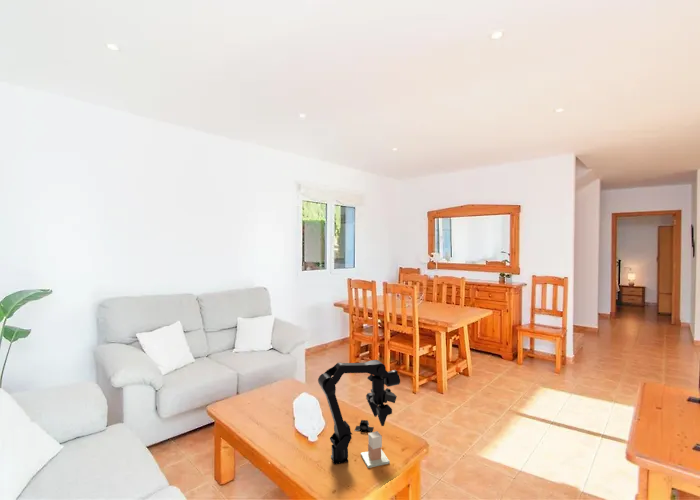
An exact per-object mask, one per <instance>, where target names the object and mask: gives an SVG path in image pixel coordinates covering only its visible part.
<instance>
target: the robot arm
mask: <svg viewBox="0 0 700 500" xmlns="http://www.w3.org/2000/svg"><path fill="white" fill-rule="evenodd" d="M398 372H399V371H398V370H396V369H393V370H389V371H388V370H387V369H386V365H385V364H384V363H382V362H381V361H380V360H378V359H372V360H368V361H366V362H337V363H336V364H334V366H332V367H331V368H328V369H326V371H325V372H324V373H321V375H319V376H318V378H317V382H318V385H319V386H320V388H321V389H322V392H323V393H324V395H325V397H326V400H327V404H328V407H329V410H330V414H331V417H332V419H333V431H334V432H333V433H332V435H331V436H330V437H329V440H330V442H331V443H332V444H331V455H330V458H331V460H332V463H333V465H339V464H344V463H348V462H349V459H348V458H349V444H350V442H351V440H352V438H353V436H352V435H353V432H352V431H351V426H350V424H349V423H348V422H347V420H344V418H343V416H342V412H341V408H340V406H339V402H338V399H337V396H336V391H337V390H336V389H337V387H336V385H337V384H338V383H339V381H340V380H341V379H342V376H343V375H344V374H369V375H368V377H367V380H369V381H370V382H371V389H370V392H367V394H366V395H365V399H366V400H367V401H366V402H367V404H368V406H369V408H370V410H371V412H372V415H373V416H374V418H378V420H379V423H380V427H384V426H385V423H386V420H387V418H388V416H390V415H392V414H393V409H392V407H391V406H390V405H389V404H388V402H390V403H393V404H395V403H396V400H397V395H396V394H395V393H394V392H392V390H391V389H390V387H395V386H398V385H400V384H401V378H400V376H399V373H398ZM385 386H386V389H385Z"/></svg>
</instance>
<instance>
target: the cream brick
mask: <svg viewBox="0 0 700 500" xmlns="http://www.w3.org/2000/svg"><path fill="white" fill-rule="evenodd" d="M367 435H368V436H367V438H368V444H369V445H370V447H371V448H372V449H377V448H380V447H381V448H382V447H383V436H382V435H381V433H380V432H379V431H377V430H376V431H373V432H372V433H370V432H367Z"/></svg>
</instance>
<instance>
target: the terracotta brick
mask: <svg viewBox="0 0 700 500" xmlns="http://www.w3.org/2000/svg"><path fill="white" fill-rule="evenodd" d="M381 449H382V447H380V448H377V449H372V448H371V447H370V445H369V443H368V444H367V451H368V455H369V457H370V459H371V460H372V461H373V460H378V459H381Z"/></svg>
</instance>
